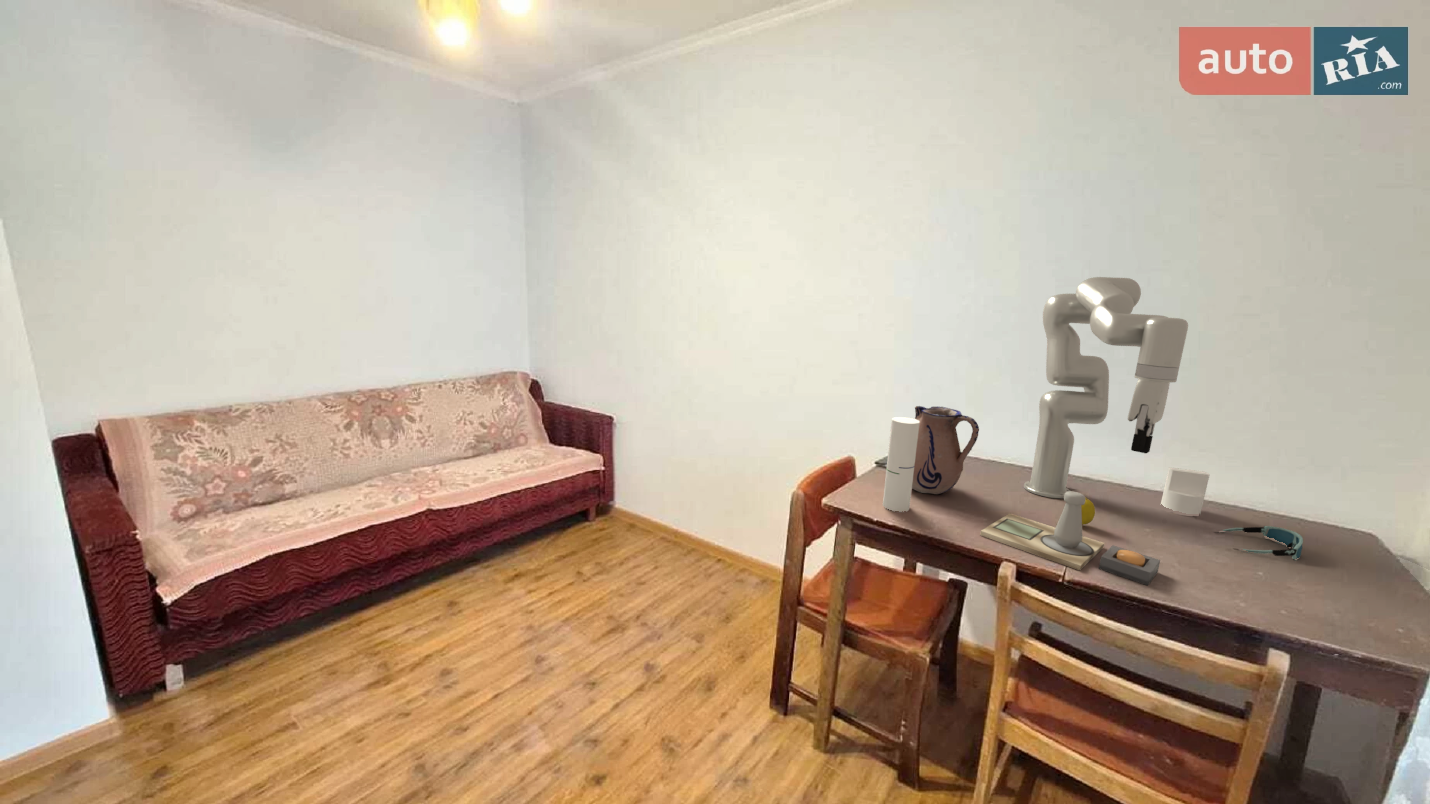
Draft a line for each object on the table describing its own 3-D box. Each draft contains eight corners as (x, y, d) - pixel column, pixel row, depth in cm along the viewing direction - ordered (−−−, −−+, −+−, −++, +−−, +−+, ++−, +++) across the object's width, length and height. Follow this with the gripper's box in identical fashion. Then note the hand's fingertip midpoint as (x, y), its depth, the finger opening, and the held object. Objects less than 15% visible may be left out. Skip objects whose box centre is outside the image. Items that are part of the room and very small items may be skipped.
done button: (1119, 557, 129) (1121, 547, 128) (1145, 566, 125) (1147, 556, 125) (1112, 564, 126) (1114, 554, 125) (1139, 573, 122) (1142, 562, 122)
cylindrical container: (910, 513, 153) (921, 424, 148) (883, 510, 154) (893, 422, 149) (907, 503, 160) (917, 418, 154) (881, 500, 161) (890, 416, 156)
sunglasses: (1316, 565, 132) (1318, 545, 131) (1236, 561, 137) (1237, 541, 136) (1281, 540, 145) (1282, 522, 144) (1209, 537, 150) (1210, 519, 149)
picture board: (1009, 517, 153) (1010, 512, 152) (1103, 547, 137) (1104, 542, 136) (980, 535, 141) (980, 530, 141) (1079, 570, 125) (1080, 565, 125)
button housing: (1110, 556, 132) (1112, 545, 131) (1157, 572, 125) (1160, 560, 125) (1098, 568, 126) (1101, 556, 125) (1147, 585, 120) (1150, 572, 119)
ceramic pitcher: (907, 475, 184) (915, 400, 178) (976, 491, 172) (988, 411, 166) (889, 490, 170) (897, 409, 164) (963, 508, 158) (975, 422, 152)
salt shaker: (1077, 541, 137) (1086, 491, 134) (1083, 551, 131) (1093, 499, 128) (1049, 537, 138) (1058, 487, 136) (1055, 547, 133) (1064, 495, 130)
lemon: (1090, 523, 150) (1095, 495, 149) (1093, 531, 145) (1099, 502, 144) (1066, 519, 153) (1071, 491, 151) (1068, 527, 148) (1074, 498, 146)
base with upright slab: (1166, 513, 160) (1175, 473, 157) (1155, 502, 168) (1164, 464, 165) (1205, 519, 157) (1215, 478, 154) (1192, 507, 165) (1202, 468, 162)
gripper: (1144, 368, 133) (1129, 442, 137) (1127, 373, 124) (1111, 453, 128) (1184, 372, 128) (1167, 450, 132) (1169, 378, 118) (1152, 461, 122)
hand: (1140, 451), depth 130 cm, fingers closed
